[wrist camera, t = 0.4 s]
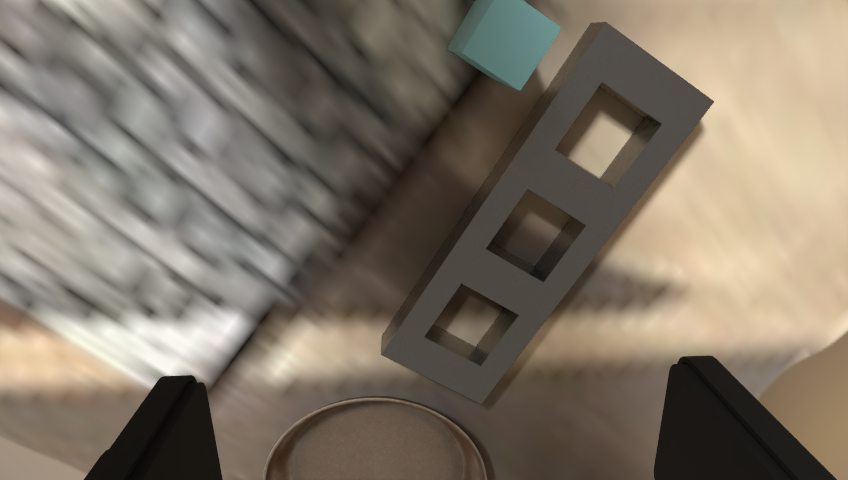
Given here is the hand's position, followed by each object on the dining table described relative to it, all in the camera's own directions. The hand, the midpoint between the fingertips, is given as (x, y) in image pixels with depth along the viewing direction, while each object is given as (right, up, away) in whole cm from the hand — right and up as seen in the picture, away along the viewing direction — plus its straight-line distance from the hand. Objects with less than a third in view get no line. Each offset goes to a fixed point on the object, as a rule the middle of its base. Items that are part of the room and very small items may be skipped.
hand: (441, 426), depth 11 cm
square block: (+4, +18, +29) cm, 34 cm away
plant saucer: (-5, -18, +43) cm, 47 cm away
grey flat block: (+8, +5, +34) cm, 35 cm away
